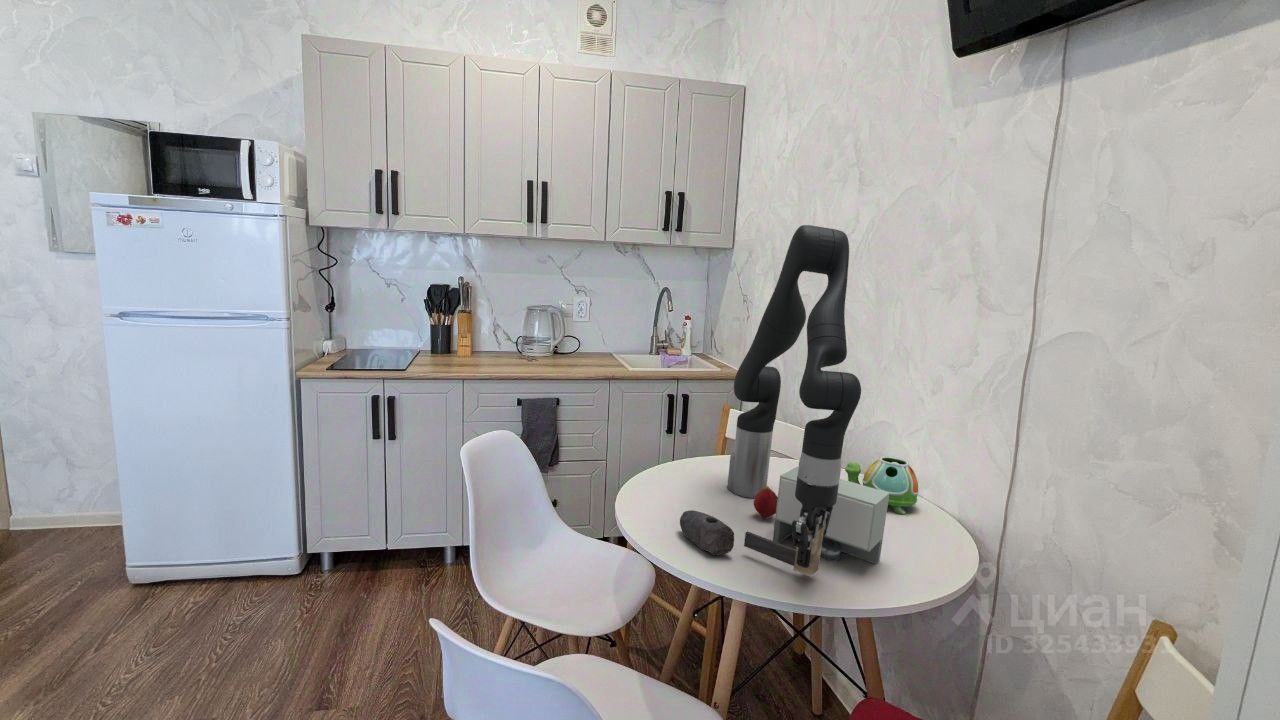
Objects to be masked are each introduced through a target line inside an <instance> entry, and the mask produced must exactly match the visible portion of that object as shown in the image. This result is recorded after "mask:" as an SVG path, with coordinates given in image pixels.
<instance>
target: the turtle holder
mask: <svg viewBox="0 0 1280 720" xmlns="http://www.w3.org/2000/svg"><path fill="white" fill-rule="evenodd" d="M844 471H845V473H846V474H847V481H850V482H853V483H857V484H860V485H864V486H867V487H871V488H874V489H878V490H881V491H885V492H888V493H890V494H889V500H888V506H891V507H892V508H893V509H892V510H893V512H894V513H897V514H899V515H905V514H907V513H906V511H905V510H904V509H903V508H902V507H912V506H915V505H916V503H918V495H919V493H920V491H919V482H918V478H917V475H916V472H915V471H914V470H913V468H912V467H911V465H910V464H909V462H908V461H907V460H904V459H901V458H896V457H892V456H891V457H890V456H880V457H879V459H877V460H876V461H874V462H873V463H872V464H870V465H869V466H868V467H867V469H866V471H865V472H864V475H863V478H862V480H861V482H862V484H861V483H860V481H859V475H860V474H861V472H862V469H861V465H860V464H859V463H857V462H853V461H849V462H848V463H847V465H846V467H845V468H844Z"/></svg>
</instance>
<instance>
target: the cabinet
mask: <svg viewBox="0 0 1280 720" xmlns="http://www.w3.org/2000/svg"><path fill="white" fill-rule="evenodd" d="M798 467H799V466H796V467H794V468H792V469H790V470H788V471H786V472H785V473H783V474H781V475H780V476H779V483H778V492H777V497H778V499H777V507H776V514H775V517H774V525H773V526H774V527H773V534H772V541H774V542H777V543H779V544H781V543H780V542H783V541H784V540H785V539H787V538H788V537H789V536H791V535H793V534H792V522H793V521H794V520H795V521H799V513H800V510H801V509H802V504H801V502H800V501H798V500H797V499H796V497H795V490H796V482H797V475H798ZM860 484H861V483H860ZM860 484H857V483H853V482H850V481H848V480H846V479H842V478H840V480H839V487H838V494H837V501H836V504H835V505H834V506H833V510H832V513H831V516H830V520H829V524H828V528H827V531H826V534H825V536H824V535H823V539H828V540H833V541H835V542H838V543H839V544H840V545H841V546H842V549H841V553H844V554H848V555H850V556H853V557H856V558H859V559H861V560H864V561H867V562H869V563H873V564H876V565H877V564H879V563H880V561H881V553H882V546H883V542H884V541H883V540H884V534H885V526H886V521H887V520H886V519H887V515H888V514H887V513H888V506H889V505H888V500H889V494H890V493H888V492H885V491H881V490H878V489H874V488H871V487H867V486H864V485H863V484H861V485H860Z"/></svg>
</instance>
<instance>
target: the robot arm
mask: <svg viewBox="0 0 1280 720" xmlns="http://www.w3.org/2000/svg"><path fill="white" fill-rule="evenodd" d="M786 251H787V252H786V255H785V258H784V262H783V263H782V268H781V271H780V274H779V276H778V280H777V282H776V286H775V287H774V290H773V293H772V294H771V297H770V299H769V302H768V304H767V305H766V308H765V310H764V313H763V316H762V318H761V320H760V323H759V326H758V328H757V330H756V331H757V332H756V334H755V336H754V339H753V341H752V343H751V345H750V347H749V350H748V351H747V353H746V355H745V357H744V358H743V360H742V361H741V364H740V365H739V368H738V370H737V372H736V375H735V377H734V382H733V393H734V395H735V397H736V399H738V400H739V401H740V402H745V403H758V404H757V405H756V406H755V407H753V408H752V409H749V410H747V411H745V412H742V413H740V414H739V415H738V417H737V418H736V430H735V438H734V450H733V453H731V454H730V456H729V467H728V476H727V477H728V478H727V486H726V489H727V490H729V491H730V492H732V493H733V494H734V495H737V496H740V497H744V498H751V499H753V498H754V499H755V497H756V495H757V494H758V493H759V492H760V491H762V490H764V489H765V486H768V479H769V470H770V469H769V468H770V462H771V461H770V460H771V453H772V452H771V451H772V450H771V449H772V443H773V442H772V441H773V435H774V434H773V433H774V426H775V422H776V418H777V412H778V406H779V400H780V394H781V382H782V380H781V379H782V378H781V375H780V371H779V370H778V369H777V368H776V367H774V366H767V365H768V364H770V363H771V362H773V361H774V360H775V359H777V358H778V357H780V356H781V355H783V354H785V353H786V352H787V351H788V350H789V349H791V348H792V347H793V346H794V345H795V343H796V342H797V341H798V338H799V336H800V334H801V333H802V330H803V328H804V327H805V324H806V343H807V357H806V364H805V368H804V371H803V375H802V379H801V382H800V385H799V389H798V393H799V398H800V401H801V402H802V404H803V405H804V406H805V407H806V408H808V409H813V410H824V411H825V410H826V411H832V412H831V413H830V415H829V416H826V417H825V418H820V419H813V420H810V421H808V422H807V423H806V424H805V427H804V431H803V432H804V433H803V438H802V445H801V446H802V448H801V454H800V457H799V461H798V466H797V467H798V475H797V482H796V490H795V497H796V499H797V500H798V501H800V502H801V504H802V509H801V510H800V513H799V521H795V520H794V521H793V522H792V534H791V535H792V546H793V547H795V548H796V547H798V555H797V565H799V566H801V567H804V568H807V567H808V566H809V562H810V554H811V548H812V543H813V538H816V533H817V531H818V528H819V526H821V527H824V533H823V535H824V536H825V534H826V531H827V528H828V524H829V520H830V516H831V513H832V510H833V506H834V505H835V504H836V501H837V494H838V487H839V480H840V479H841V471H842V454H843V453H842V452H843V446H844V439H845V435H846V432H847V429H848V427H849V424H850V422H851V419H852V417H853V415H854V413H855V411H856V409H857V407H858V405H859V402H860V400H861V395H862V386H861V381H860V379H859V378H858V377H857V376H856V375H855V374H853V373H851V372H844V371H832V370H831V371H830V370H822V368H825V367H826V368H827V367H833V366H836V365H840V364H842V363H843V362H844V361H845V360H846V358H847V354H848V347H847V346H848V345H847V337H846V336H847V333H846V322H845V314H846V313H845V311H846V310H845V307H846V297H847V288H848V275H849V264H850V263H849V261H850V260H849V259H850V242H849V237H848V235H847V233H845V232H844V231H843V230H840V229H836V228H830V227H823V226H817V225H816V226H815V225H810V224H803V225H800V226H799V227H797V229H796V230H795V232H794V234H793V235H792V238H791V240H790V243H789V246H788V249H787V250H786ZM803 272H808V273H816V274H822V275H826V276H827V285H826V289H825V290H824V292H823V294H822V295H821V296H820V298H819V299H818V301H817V302H816V303H815V305H814V306H813V308H812V309H811V311H810V313H809V315H808V317H807V314H806V312H807V311H806V307H805V304H804V301H803V298H802V296H801V293H800V289H799V278H800V276H801V274H802V273H803ZM806 319H807V320H806ZM806 321H807V322H806ZM808 530H810V531H813V532H812V533H809V532H808ZM808 538H809V539H808Z"/></svg>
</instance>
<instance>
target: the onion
mask: <svg viewBox="0 0 1280 720" xmlns="http://www.w3.org/2000/svg"><path fill="white" fill-rule="evenodd" d="M777 499H778V494H776V493H775V492H774V491H773V490H772V489H771V488H770V487H769V485H767V486H765V489H764V490H762V491H760V492H759V493H758V494H757V495H756V497H755V498H754V499H753V506H754V509H755V511H756V513H758V514H759V516H760V517H761V518H762V519H763V520H766V519H768V518H771V517H772V516H774V515H776V507H777Z"/></svg>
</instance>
